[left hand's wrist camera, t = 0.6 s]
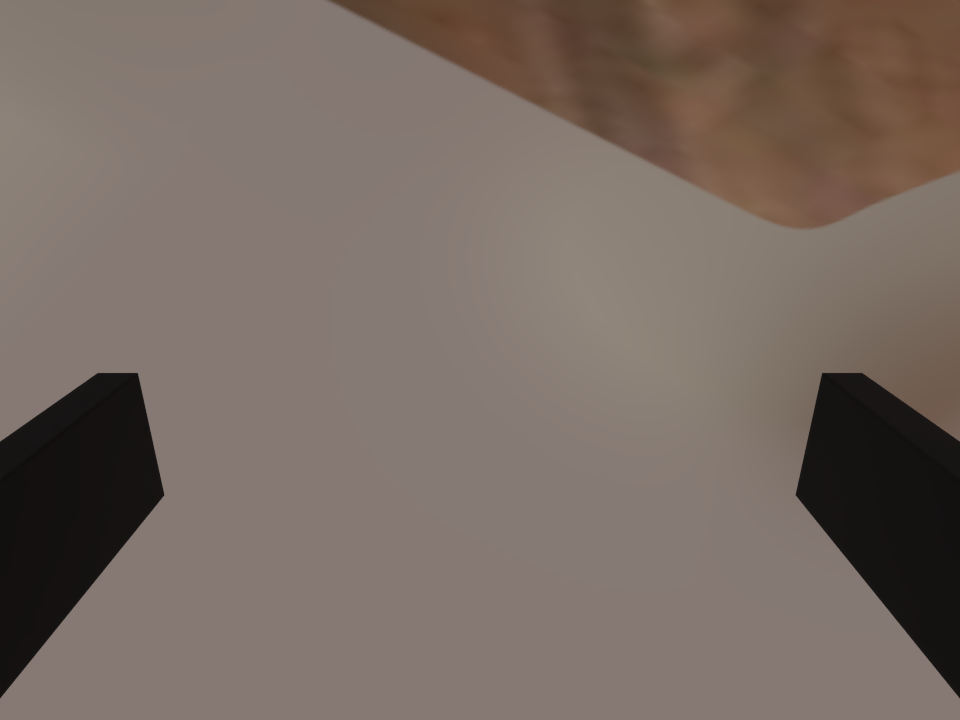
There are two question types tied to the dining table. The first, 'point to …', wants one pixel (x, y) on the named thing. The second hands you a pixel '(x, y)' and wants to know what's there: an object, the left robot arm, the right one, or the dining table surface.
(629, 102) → the dining table surface
